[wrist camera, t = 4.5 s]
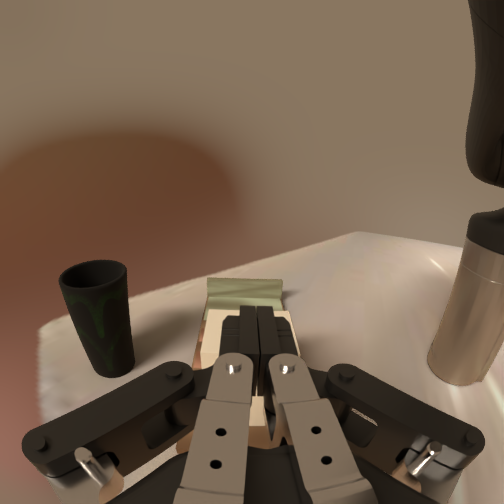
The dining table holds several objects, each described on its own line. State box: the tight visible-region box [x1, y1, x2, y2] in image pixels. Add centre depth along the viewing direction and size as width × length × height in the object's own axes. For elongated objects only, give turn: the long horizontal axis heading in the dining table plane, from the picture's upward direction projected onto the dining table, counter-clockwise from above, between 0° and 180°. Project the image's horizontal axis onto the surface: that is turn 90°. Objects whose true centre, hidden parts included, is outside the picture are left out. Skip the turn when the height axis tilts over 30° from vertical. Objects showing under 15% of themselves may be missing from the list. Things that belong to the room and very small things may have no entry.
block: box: [200, 309, 300, 426], centre depth 23 cm, size 6×7×9 cm
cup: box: [59, 260, 135, 378], centre depth 27 cm, size 8×8×12 cm
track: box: [176, 278, 284, 454], centre depth 32 cm, size 29×12×4 cm, turn 2°
